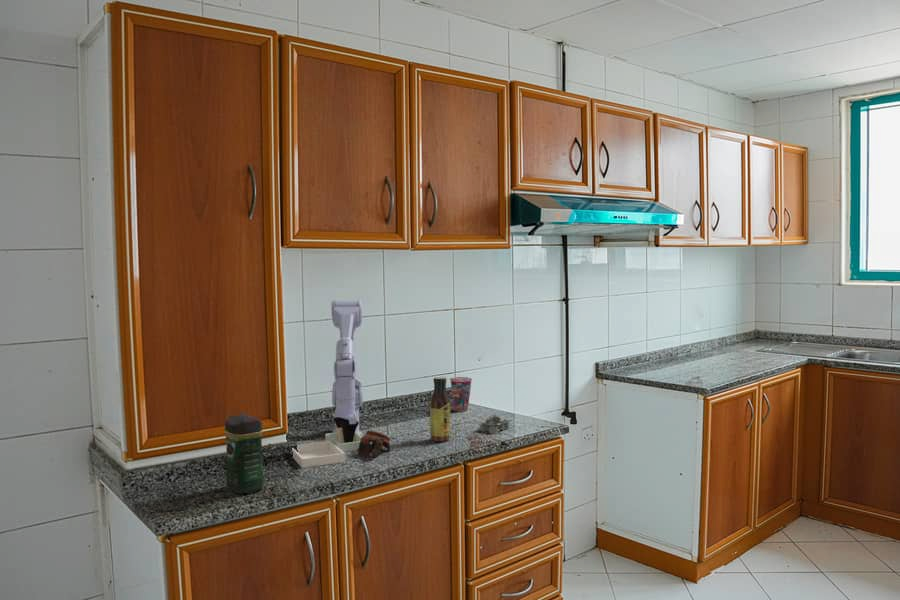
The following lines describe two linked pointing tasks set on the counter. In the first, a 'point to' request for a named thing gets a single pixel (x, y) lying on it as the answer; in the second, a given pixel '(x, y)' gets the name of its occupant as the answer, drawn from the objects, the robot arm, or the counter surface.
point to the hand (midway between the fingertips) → (346, 442)
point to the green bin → (344, 446)
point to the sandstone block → (341, 436)
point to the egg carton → (494, 424)
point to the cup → (460, 393)
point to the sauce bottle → (440, 412)
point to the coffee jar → (244, 454)
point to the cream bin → (318, 454)
